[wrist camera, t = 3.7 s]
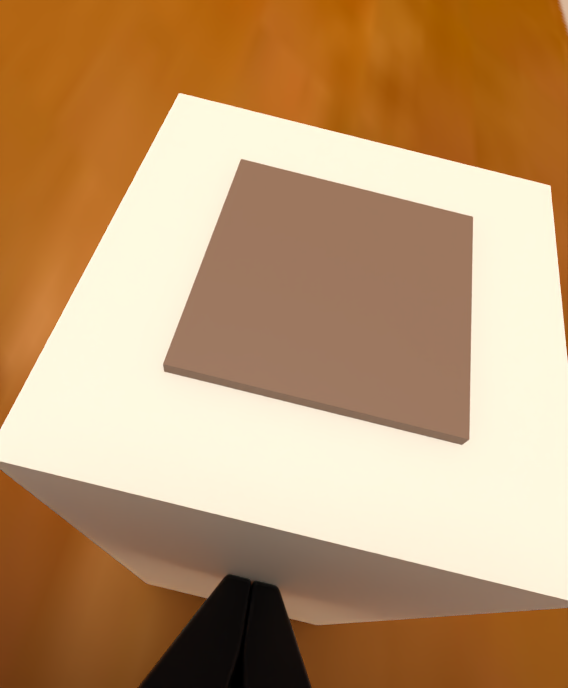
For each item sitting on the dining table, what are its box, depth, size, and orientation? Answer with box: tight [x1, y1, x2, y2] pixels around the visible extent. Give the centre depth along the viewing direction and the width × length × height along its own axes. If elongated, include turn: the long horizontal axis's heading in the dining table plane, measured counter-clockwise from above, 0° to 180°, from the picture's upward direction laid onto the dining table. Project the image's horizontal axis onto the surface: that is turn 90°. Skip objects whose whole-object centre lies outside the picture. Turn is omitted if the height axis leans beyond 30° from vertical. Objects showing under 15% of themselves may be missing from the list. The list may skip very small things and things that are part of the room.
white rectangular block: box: [0, 93, 568, 625], centre depth 10 cm, size 5×5×12 cm
